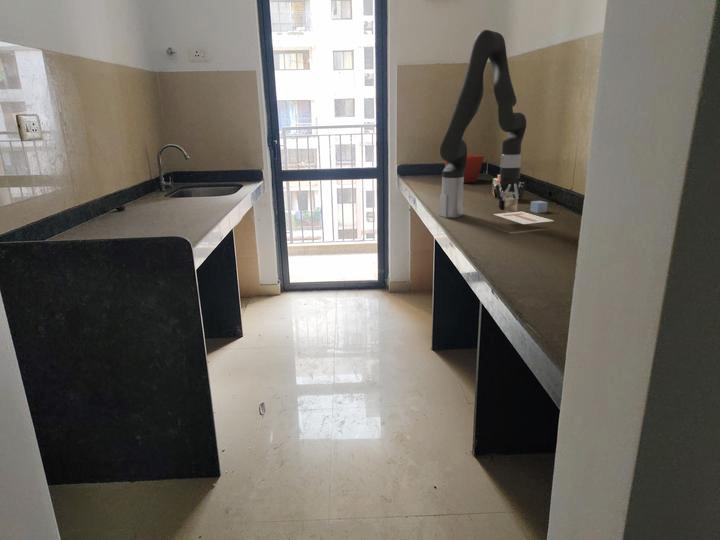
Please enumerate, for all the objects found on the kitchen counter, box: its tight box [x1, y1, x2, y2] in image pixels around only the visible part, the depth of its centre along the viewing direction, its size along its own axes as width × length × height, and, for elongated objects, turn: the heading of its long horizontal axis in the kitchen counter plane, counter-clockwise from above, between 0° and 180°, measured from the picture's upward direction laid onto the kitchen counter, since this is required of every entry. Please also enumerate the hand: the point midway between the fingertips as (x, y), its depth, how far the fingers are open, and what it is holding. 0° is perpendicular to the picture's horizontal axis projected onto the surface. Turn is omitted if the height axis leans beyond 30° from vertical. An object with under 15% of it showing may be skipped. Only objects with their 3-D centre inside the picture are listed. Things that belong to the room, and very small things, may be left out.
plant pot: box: [443, 153, 485, 184], centre depth 317 cm, size 19×19×17 cm
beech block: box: [498, 198, 519, 213], centre depth 195 cm, size 5×5×5 cm
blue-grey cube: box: [529, 200, 549, 214], centre depth 217 cm, size 5×5×5 cm
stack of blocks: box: [492, 174, 513, 198], centre depth 255 cm, size 21×6×12 cm, turn 179°
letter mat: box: [492, 211, 554, 225], centre depth 206 cm, size 15×22×1 cm
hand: (508, 208), depth 196 cm, fingers closed on beech block, 5 cm apart
